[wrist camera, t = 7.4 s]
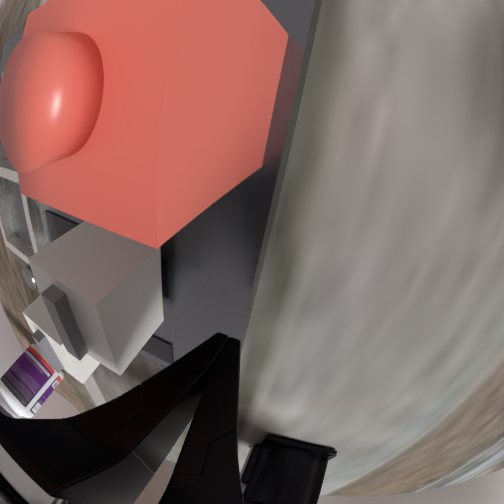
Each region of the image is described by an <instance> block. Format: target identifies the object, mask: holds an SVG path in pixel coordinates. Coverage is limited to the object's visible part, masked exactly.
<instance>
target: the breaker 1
mask: <svg viewBox="0 0 504 504" xmlns="http://www.w3.org/2000/svg"><path fill="white" fill-rule="evenodd" d="M28 261H29V264H30V267H31V270H32V273H33V276H34V279H35V281H36V284H37V287H38V289H39V292H40V295H41V297H42V300H43V302H44V305H45V307H46V309H47V312H48V314H49V316H50V318H51V321H52V323H53V325H54V327H55V329H56V331H57V332H58V334H59V336H60V338H61V340H62V342H63V344H64V346H65V348H66V350H67V352H69V353H70V354H71V355H73V356H74V357H75V358H77V359H78V360H79V361H81V359H82V358H83V357H84V356H85V355H86V354H88V355H89V356H91V357H92V358H94V359H95V360H96V361H98V362H99V363H101V364H102V365H104V366H106V367H107V368H109V369H110V370H112V371H113V372H115V373H117V374H118V375H120V376H121V375H122V373H123V372H124V371H125V369H126V368H127V367H128V365H129V364H130V363H131V362H132V360H133V359H134V358H135V356H136V355H137V354H138V353H139V351H140V350H141V349H142V347H143V346H144V345H145V344H146V342H147V341H148V340H149V338H150V337H151V336H152V335H153V333H154V332H155V331H156V330H157V328H158V327H159V326H160V324H161V323H162V322H163V321H164V316H163V301H162V283H161V250H160V247H159V248H158V249H156V248H153V247H150V246H148V245H145V244H142V243H140V242H137V241H135V240H132V239H130V238H127V237H124V236H122V235H119V234H117V233H114V232H112V231H109V230H107V229H104V228H102V227H99V226H97V225H94V224H92V223H89V222H87V221H84V222H83V223H81V224H79V225H78V226H76V227H75V228H73V229H71V230H70V231H68V232H67V233H65V234H63V235H62V236H60V237H59V238H57V239H56V240H54V241H53V242H51V243H50V244H48V245H47V246H45V247H44V248H42V249H41V250H40V251H38V252H37V253H35V254H34V255H32V256H31V257H30V258H28Z"/></svg>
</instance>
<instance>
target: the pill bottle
mask: <svg viewBox="0 0 504 504" xmlns="http://www.w3.org/2000/svg"><path fill="white" fill-rule="evenodd" d="M63 378H64V374H63V371H62V370H61V372H60V373H59V374H58V373H57V372H56V371H55V370H54V369H53V368H52V367H51V366H50V365H49V363H48V362H47V360H46V359H45V357H44V355H43V354H42V352H41V351H40V349H39V347H38V346H37V344H36V343H33V344H31V345H30V346H29V347H28V348H27V349H26V351H25V352H24V353H23V354H22V355H21V356H20V357H19V358H18V359H17V360H16V361H15V363H14V364H13V365H12V366H11V367H10V368H9V370H8V371H7V372H6V373H5V374H4V375H3V376H2V378H1V379H0V405H1V406H2V407H3V408H4V409H5V410H6V411H7V412H9V413H10V414H11V415H12V416H13V417H14V418H21V417H22V416H24V417H27V418H31V417H33V416H34V415H35V413H36V412H37V410H38V409H39V408H40V407H41V405H42V404H43V403H44V402H45V400H46V399H47V398H48V397H49V395H50V394H51V393H52V392H53V390H54V389H55V388H56V387H57V386H58V384H59V383H60V382H61V381H62V379H63Z"/></svg>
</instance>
